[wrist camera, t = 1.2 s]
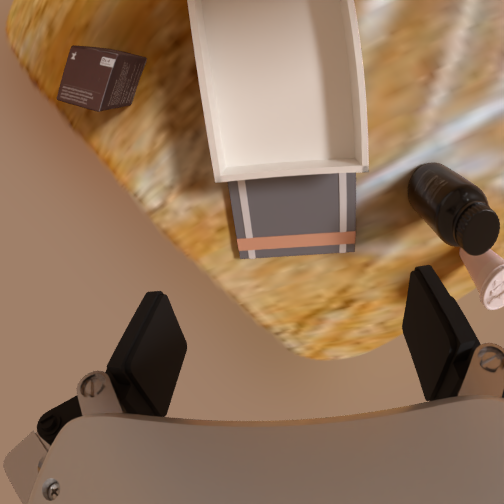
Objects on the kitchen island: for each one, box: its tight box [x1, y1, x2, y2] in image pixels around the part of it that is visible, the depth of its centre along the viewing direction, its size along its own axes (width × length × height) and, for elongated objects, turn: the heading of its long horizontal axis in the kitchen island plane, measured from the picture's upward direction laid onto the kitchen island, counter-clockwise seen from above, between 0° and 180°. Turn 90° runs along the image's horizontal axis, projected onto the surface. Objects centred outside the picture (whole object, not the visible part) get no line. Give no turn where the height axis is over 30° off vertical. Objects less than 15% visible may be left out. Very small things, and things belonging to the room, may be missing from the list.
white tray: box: [187, 0, 369, 183], centre depth 24 cm, size 20×14×5 cm
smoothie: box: [459, 248, 504, 310], centre depth 29 cm, size 6×6×14 cm
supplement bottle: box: [408, 163, 500, 256], centre depth 27 cm, size 7×7×12 cm
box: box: [57, 46, 147, 112], centre depth 26 cm, size 6×6×7 cm
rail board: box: [228, 172, 356, 259], centre depth 30 cm, size 33×14×1 cm, turn 7°
